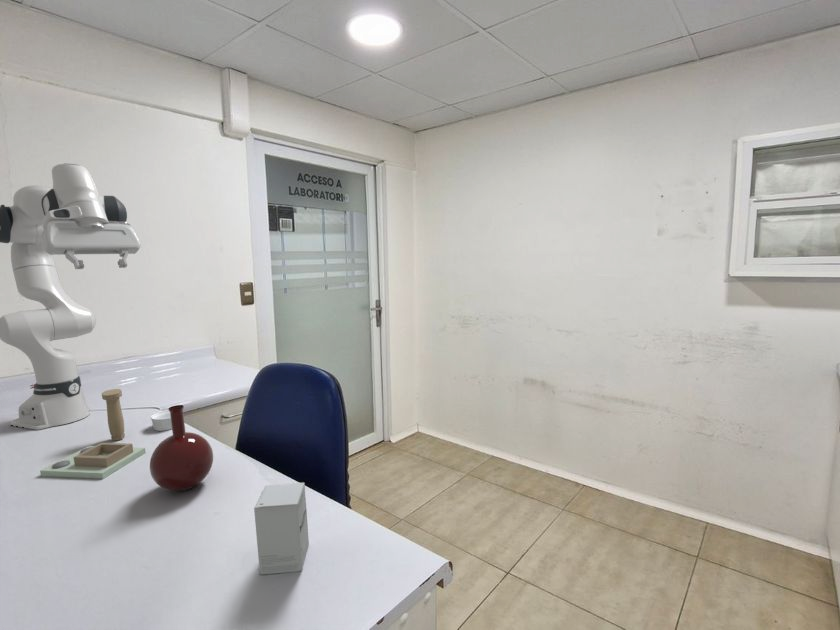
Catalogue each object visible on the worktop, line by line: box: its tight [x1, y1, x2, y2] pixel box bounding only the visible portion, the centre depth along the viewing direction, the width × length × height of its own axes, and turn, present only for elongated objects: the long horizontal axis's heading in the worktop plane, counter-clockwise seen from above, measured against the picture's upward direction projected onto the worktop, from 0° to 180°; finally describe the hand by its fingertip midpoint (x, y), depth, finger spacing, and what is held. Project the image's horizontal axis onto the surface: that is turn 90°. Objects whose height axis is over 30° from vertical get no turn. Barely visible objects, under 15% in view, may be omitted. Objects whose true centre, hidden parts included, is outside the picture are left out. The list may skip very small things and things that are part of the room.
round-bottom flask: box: [149, 404, 214, 492], centre depth 101 cm, size 13×13×20 cm
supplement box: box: [253, 482, 310, 575], centre depth 76 cm, size 7×7×13 cm
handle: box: [101, 388, 126, 442], centre depth 130 cm, size 5×6×15 cm
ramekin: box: [150, 409, 172, 432], centre depth 139 cm, size 9×9×4 cm
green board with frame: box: [39, 442, 147, 480], centre depth 115 cm, size 18×14×4 cm
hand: (102, 267), depth 109 cm, fingers open, 8 cm apart
